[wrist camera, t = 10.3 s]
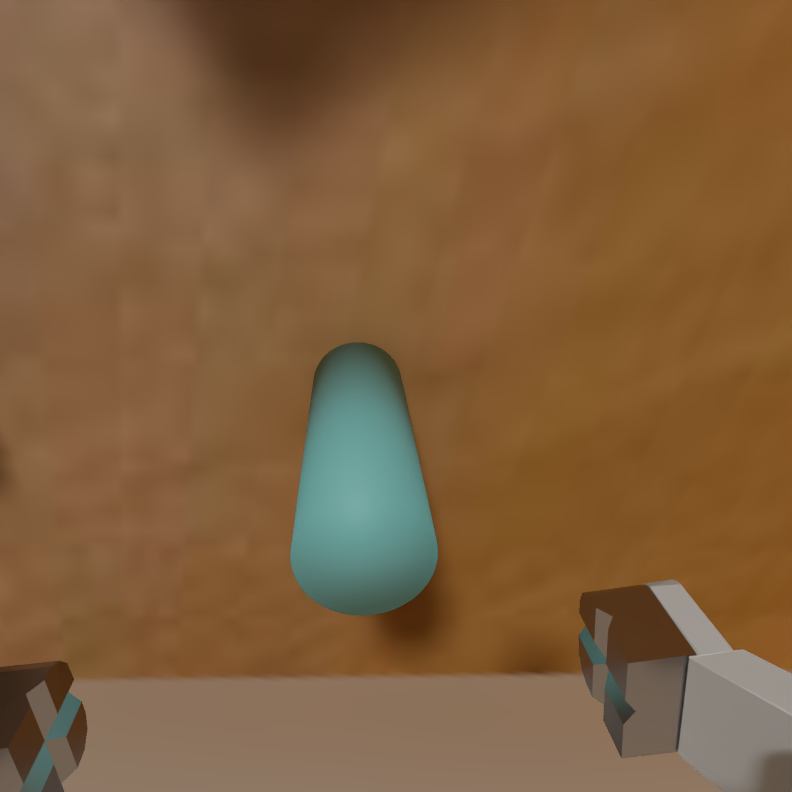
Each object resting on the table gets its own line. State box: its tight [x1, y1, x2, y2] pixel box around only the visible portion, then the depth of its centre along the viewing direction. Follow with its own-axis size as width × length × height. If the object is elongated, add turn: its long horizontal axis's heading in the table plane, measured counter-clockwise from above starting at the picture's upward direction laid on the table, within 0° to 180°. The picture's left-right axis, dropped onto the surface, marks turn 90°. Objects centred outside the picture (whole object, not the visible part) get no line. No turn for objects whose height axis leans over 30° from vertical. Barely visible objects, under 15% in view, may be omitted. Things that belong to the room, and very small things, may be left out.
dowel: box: [290, 343, 438, 616], centre depth 16 cm, size 3×3×9 cm
